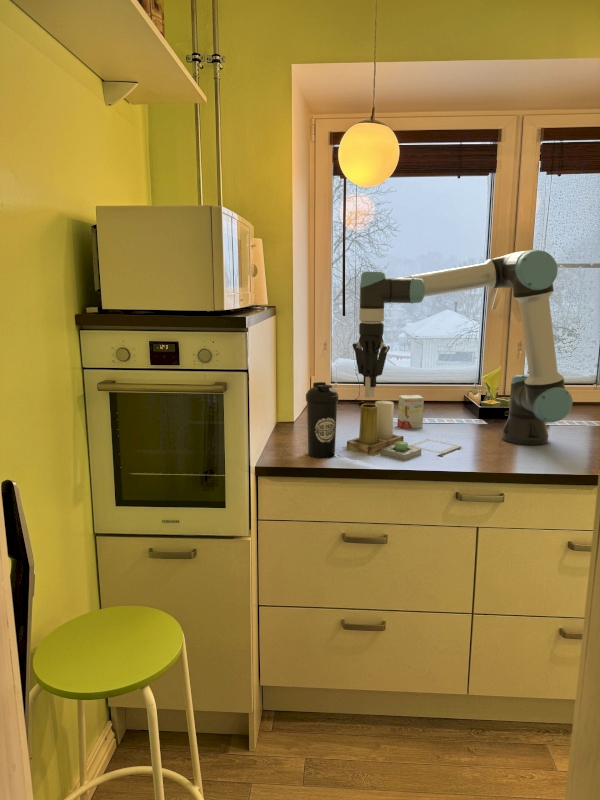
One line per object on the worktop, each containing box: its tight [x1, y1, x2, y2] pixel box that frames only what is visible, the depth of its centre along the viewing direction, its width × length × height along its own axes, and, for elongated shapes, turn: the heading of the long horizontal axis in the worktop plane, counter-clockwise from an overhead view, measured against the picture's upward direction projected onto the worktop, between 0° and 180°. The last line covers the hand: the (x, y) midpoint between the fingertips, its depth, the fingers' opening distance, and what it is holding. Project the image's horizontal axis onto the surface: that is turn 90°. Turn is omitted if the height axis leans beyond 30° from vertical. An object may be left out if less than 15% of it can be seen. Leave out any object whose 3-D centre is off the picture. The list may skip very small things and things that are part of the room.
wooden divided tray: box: [342, 433, 404, 457], centre depth 194 cm, size 13×19×4 cm
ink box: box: [397, 394, 425, 429], centre depth 223 cm, size 9×5×12 cm, turn 99°
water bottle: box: [305, 381, 339, 460], centre depth 186 cm, size 10×10×23 cm
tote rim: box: [408, 438, 462, 458], centre depth 194 cm, size 13×12×1 cm
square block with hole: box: [380, 444, 422, 462], centre depth 184 cm, size 9×9×3 cm
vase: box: [358, 403, 377, 446], centre depth 189 cm, size 6×6×14 cm
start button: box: [395, 441, 409, 451], centre depth 184 cm, size 4×4×2 cm
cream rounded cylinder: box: [374, 400, 395, 440], centre depth 195 cm, size 6×6×14 cm
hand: (369, 396), depth 187 cm, fingers closed
